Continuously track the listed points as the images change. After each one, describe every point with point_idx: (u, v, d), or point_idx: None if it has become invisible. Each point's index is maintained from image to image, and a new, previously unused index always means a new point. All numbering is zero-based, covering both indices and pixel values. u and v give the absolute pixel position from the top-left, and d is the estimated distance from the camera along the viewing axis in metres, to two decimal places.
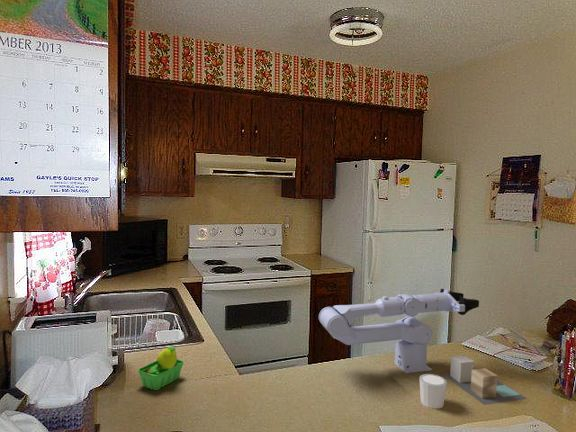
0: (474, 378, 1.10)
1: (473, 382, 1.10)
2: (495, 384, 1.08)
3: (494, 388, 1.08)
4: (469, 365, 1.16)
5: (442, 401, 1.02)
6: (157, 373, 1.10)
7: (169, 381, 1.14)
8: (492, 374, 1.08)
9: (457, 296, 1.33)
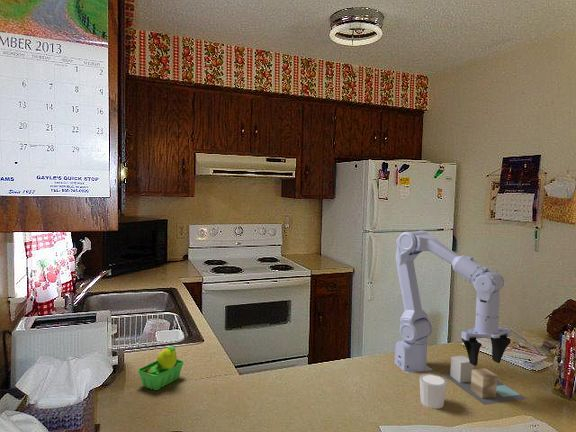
0: (474, 378, 1.10)
1: (473, 382, 1.10)
2: (495, 384, 1.08)
3: (494, 388, 1.08)
4: (469, 365, 1.16)
5: (442, 401, 1.02)
6: (157, 373, 1.10)
7: (169, 381, 1.14)
8: (492, 374, 1.08)
9: (496, 353, 1.10)
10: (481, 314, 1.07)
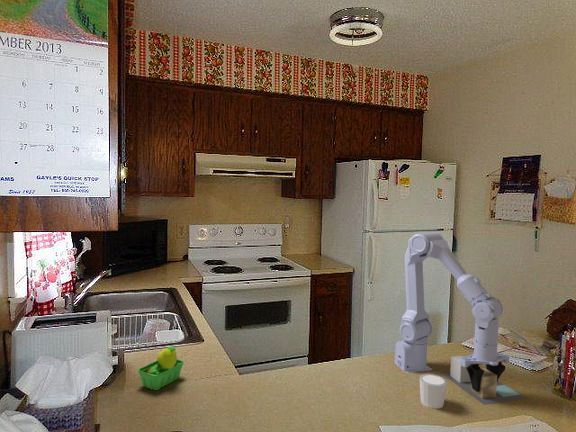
0: None
1: None
2: (495, 384, 1.08)
3: (494, 388, 1.08)
4: None
5: (442, 401, 1.02)
6: (157, 373, 1.10)
7: (169, 381, 1.14)
8: (492, 374, 1.08)
9: None
10: (480, 341, 1.07)
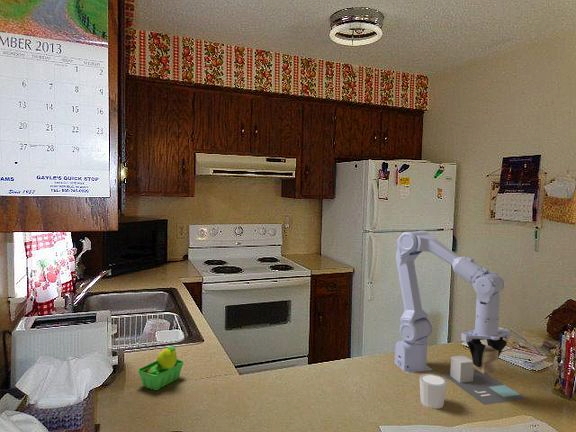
0: None
1: None
2: (496, 359, 1.08)
3: (495, 363, 1.08)
4: (469, 365, 1.16)
5: (442, 401, 1.02)
6: (157, 373, 1.10)
7: (169, 381, 1.14)
8: (493, 349, 1.08)
9: None
10: (481, 316, 1.07)
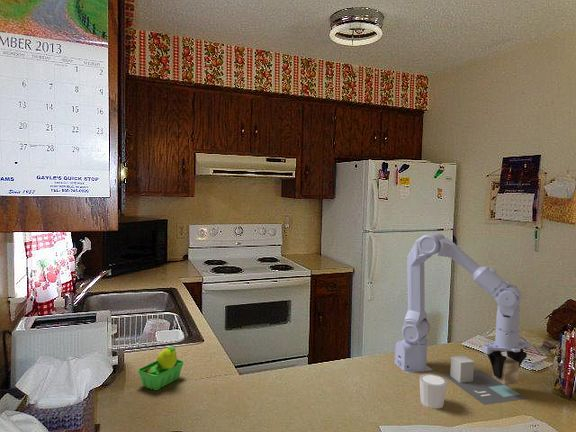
0: None
1: None
2: (517, 371, 1.10)
3: (516, 375, 1.10)
4: (469, 365, 1.16)
5: (442, 401, 1.02)
6: (157, 373, 1.10)
7: (169, 381, 1.14)
8: (514, 361, 1.10)
9: None
10: (504, 329, 1.08)
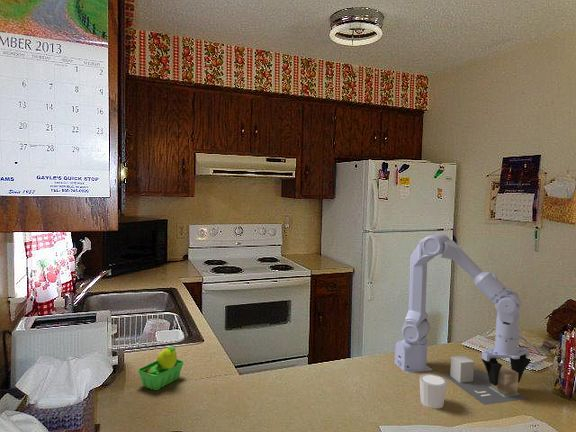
0: None
1: None
2: (516, 381, 1.10)
3: (515, 385, 1.10)
4: (469, 365, 1.16)
5: (442, 401, 1.02)
6: (157, 373, 1.10)
7: (169, 381, 1.14)
8: (513, 372, 1.10)
9: None
10: (504, 336, 1.09)
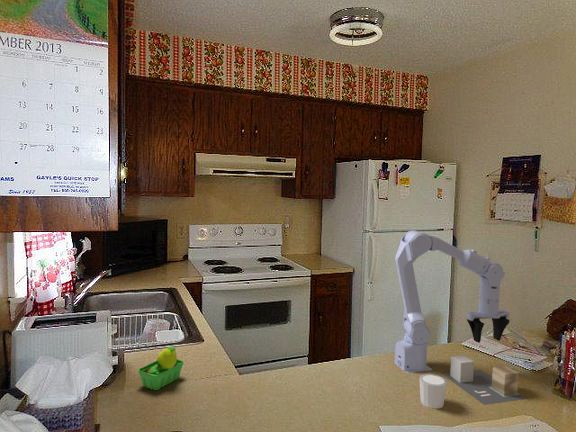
0: (495, 376, 1.12)
1: (494, 379, 1.12)
2: (516, 381, 1.10)
3: (515, 385, 1.10)
4: (469, 365, 1.16)
5: (442, 401, 1.02)
6: (157, 373, 1.10)
7: (169, 381, 1.14)
8: (513, 372, 1.10)
9: (497, 332, 1.27)
10: (492, 299, 1.22)
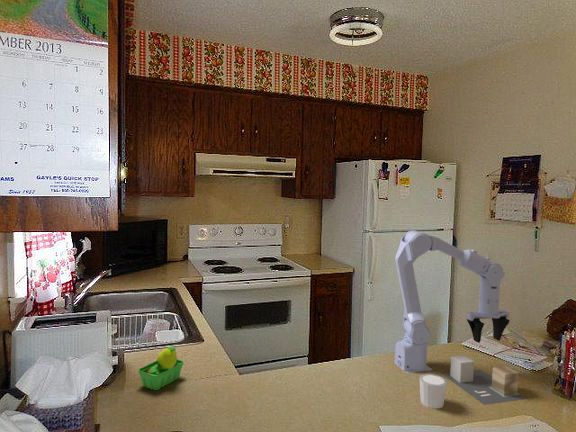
0: (495, 376, 1.12)
1: (494, 379, 1.12)
2: (516, 381, 1.10)
3: (515, 385, 1.10)
4: (469, 365, 1.16)
5: (442, 401, 1.02)
6: (157, 373, 1.10)
7: (169, 381, 1.14)
8: (513, 372, 1.10)
9: (497, 332, 1.27)
10: (492, 299, 1.22)
